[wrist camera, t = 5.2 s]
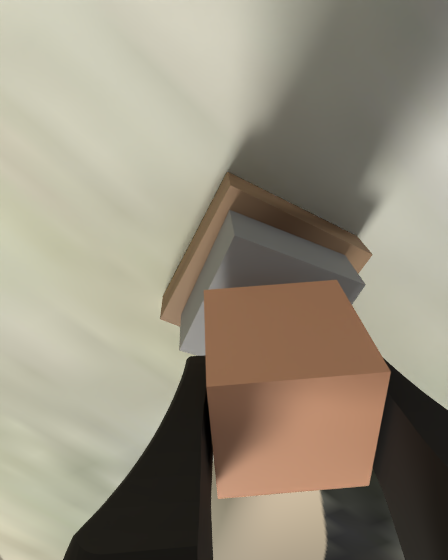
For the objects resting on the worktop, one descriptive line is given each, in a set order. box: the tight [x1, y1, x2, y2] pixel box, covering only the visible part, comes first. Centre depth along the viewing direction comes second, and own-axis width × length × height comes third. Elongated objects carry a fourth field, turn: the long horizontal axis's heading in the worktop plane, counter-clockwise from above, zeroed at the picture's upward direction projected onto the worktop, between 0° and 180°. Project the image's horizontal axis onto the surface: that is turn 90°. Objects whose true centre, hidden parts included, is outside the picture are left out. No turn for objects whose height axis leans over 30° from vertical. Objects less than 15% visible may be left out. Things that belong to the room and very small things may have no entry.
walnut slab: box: [160, 172, 372, 326], centre depth 20 cm, size 7×7×2 cm
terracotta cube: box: [204, 280, 391, 499], centre depth 13 cm, size 4×4×4 cm
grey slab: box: [179, 210, 365, 356], centre depth 17 cm, size 6×6×2 cm
